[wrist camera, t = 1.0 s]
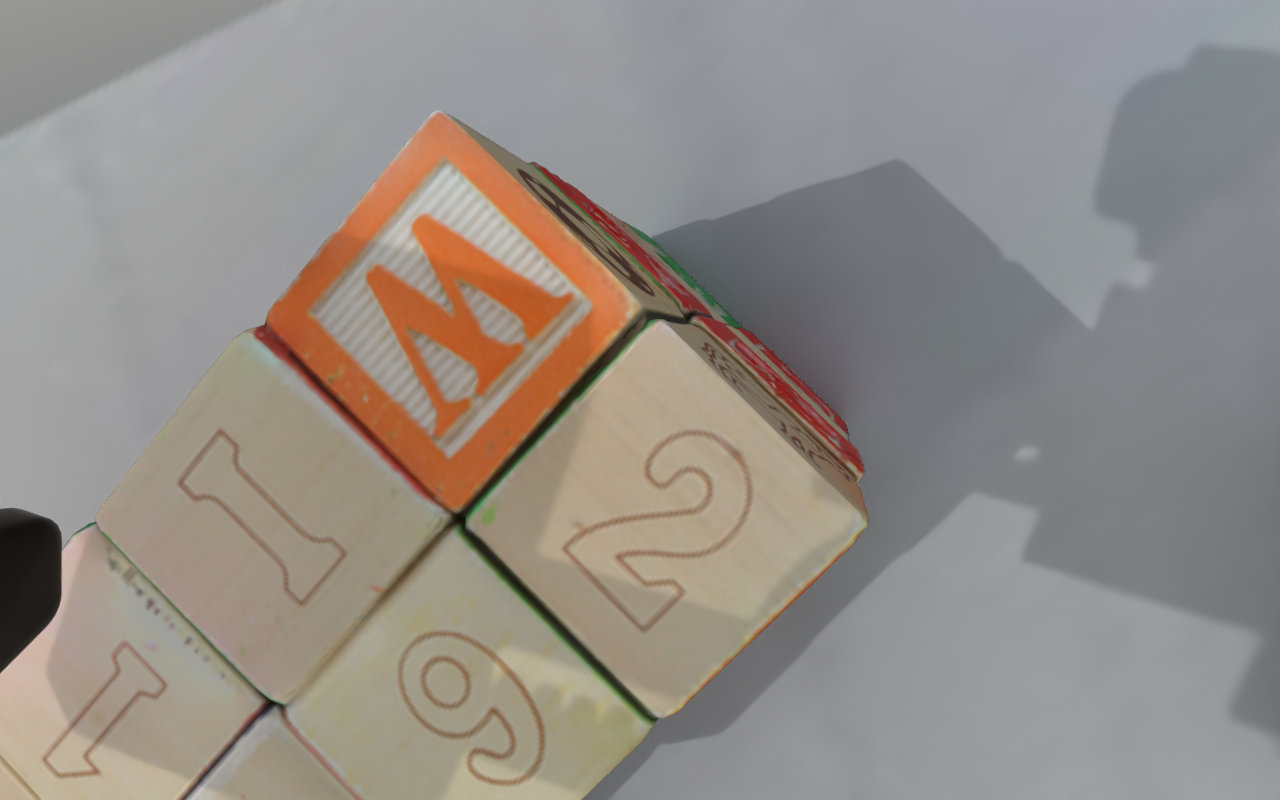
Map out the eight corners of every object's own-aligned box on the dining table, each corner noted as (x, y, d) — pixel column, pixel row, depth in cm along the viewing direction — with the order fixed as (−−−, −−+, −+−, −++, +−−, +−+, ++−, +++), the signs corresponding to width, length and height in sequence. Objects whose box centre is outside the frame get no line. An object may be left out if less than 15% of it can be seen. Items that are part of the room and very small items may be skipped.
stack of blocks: (260, 1009, 25) (-263, 1632, 13) (99, 831, 26) (-545, 1269, 14) (853, 419, 21) (886, 527, 9) (648, 224, 22) (431, 89, 10)
